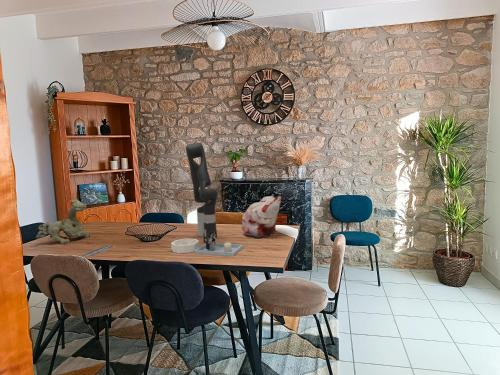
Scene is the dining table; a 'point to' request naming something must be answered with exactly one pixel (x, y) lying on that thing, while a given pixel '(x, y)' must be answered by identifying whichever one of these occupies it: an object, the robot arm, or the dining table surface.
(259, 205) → the sculpture
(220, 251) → the tray
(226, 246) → the stone sand
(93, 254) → the plaque
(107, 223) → the dining table surface
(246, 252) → the dining table surface
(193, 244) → the bowl
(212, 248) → the stone slate
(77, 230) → the sculpture
